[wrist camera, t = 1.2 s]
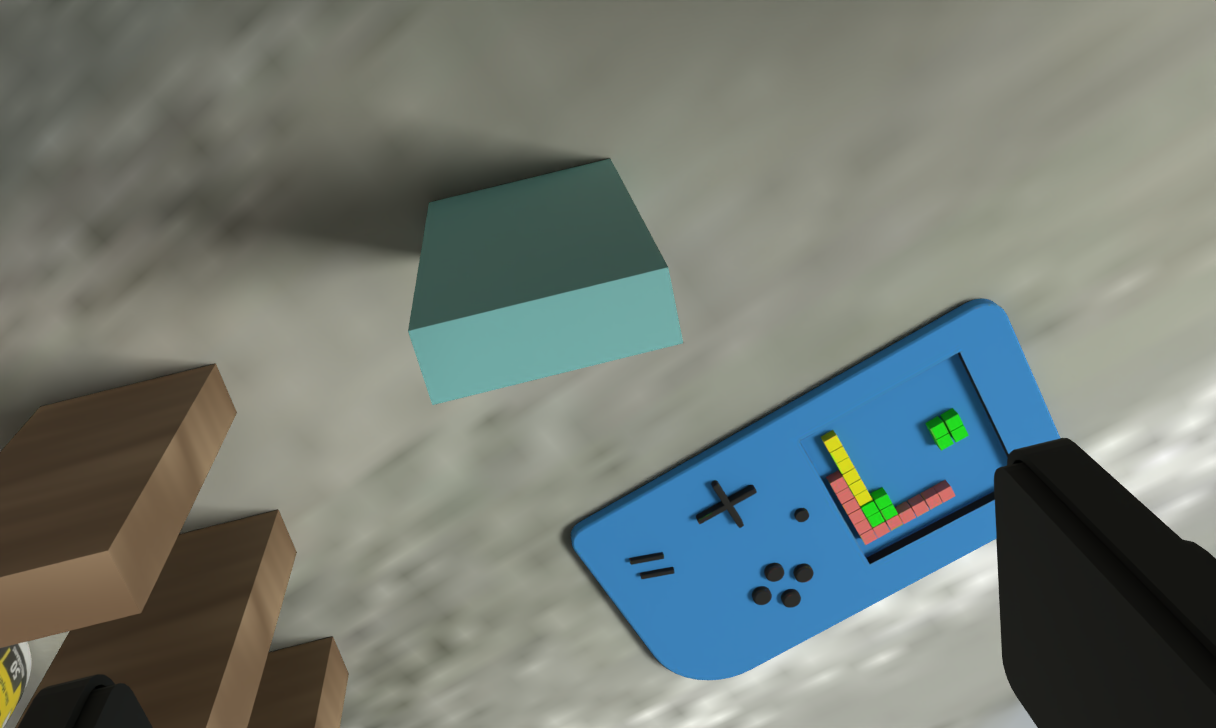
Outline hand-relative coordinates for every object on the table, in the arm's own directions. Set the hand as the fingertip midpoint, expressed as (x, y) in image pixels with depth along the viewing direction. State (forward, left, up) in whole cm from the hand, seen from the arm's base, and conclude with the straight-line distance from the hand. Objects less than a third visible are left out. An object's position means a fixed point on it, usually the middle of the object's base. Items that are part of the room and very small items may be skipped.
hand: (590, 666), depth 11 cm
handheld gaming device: (-7, +12, -19) cm, 23 cm away
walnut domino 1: (+12, +3, -18) cm, 22 cm away
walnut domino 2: (+12, +8, -18) cm, 23 cm away
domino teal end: (0, 0, -18) cm, 18 cm away
